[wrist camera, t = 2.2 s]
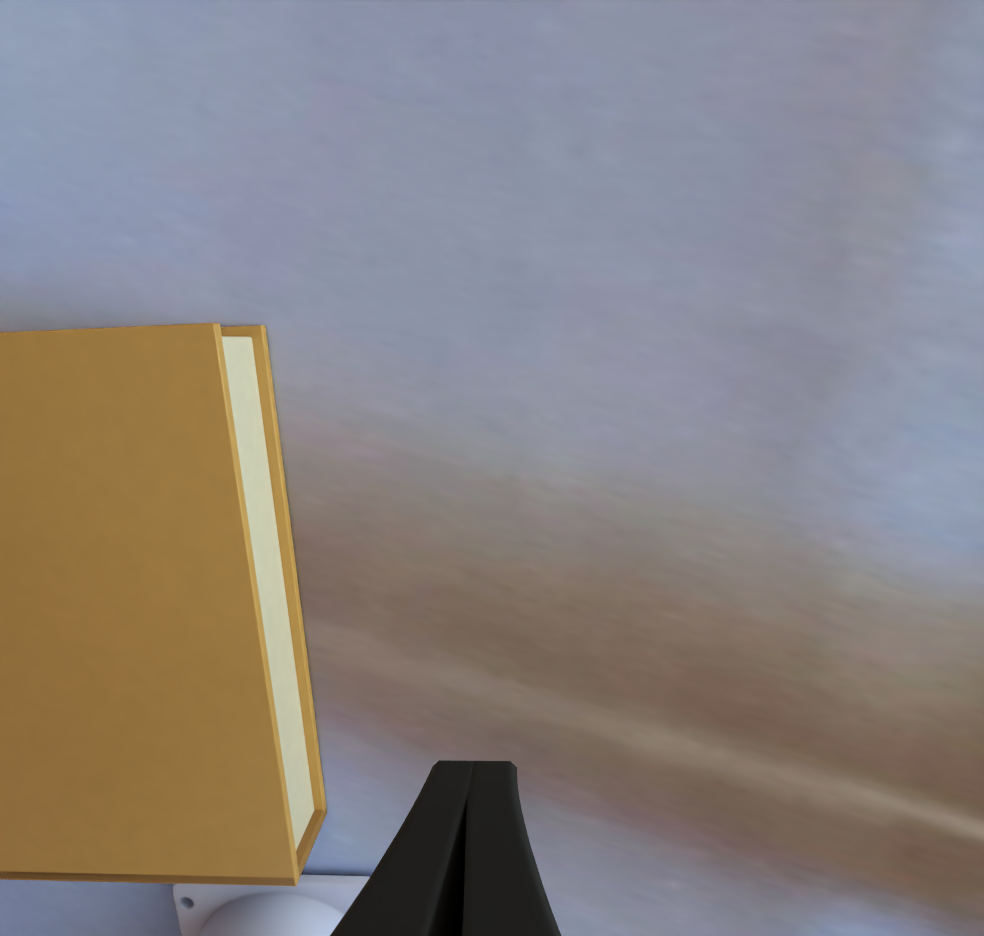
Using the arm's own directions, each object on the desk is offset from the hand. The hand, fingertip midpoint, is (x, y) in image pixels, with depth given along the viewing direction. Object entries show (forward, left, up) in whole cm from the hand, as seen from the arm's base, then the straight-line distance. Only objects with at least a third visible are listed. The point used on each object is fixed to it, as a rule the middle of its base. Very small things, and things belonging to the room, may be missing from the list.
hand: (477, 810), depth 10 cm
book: (0, +13, -8) cm, 15 cm away
